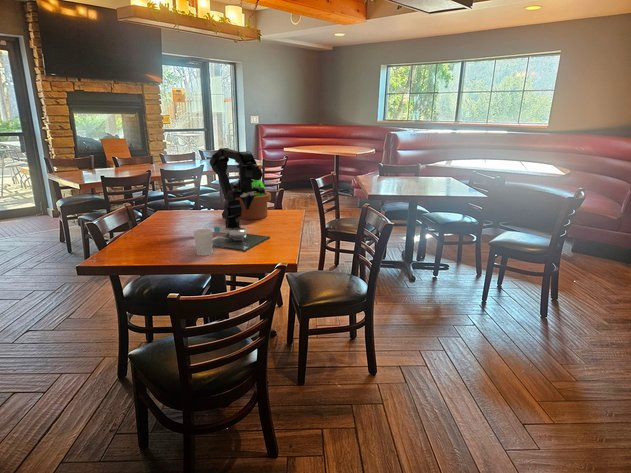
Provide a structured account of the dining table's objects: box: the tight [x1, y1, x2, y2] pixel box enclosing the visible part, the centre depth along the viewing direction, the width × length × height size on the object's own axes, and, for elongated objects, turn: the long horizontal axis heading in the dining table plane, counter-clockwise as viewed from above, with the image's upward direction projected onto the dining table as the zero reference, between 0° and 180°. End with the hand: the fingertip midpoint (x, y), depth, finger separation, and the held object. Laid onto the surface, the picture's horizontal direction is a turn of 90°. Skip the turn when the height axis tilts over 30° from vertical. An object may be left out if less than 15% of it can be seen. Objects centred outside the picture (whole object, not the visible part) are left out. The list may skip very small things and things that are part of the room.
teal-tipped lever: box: [213, 225, 248, 239], centre depth 196 cm, size 17×8×3 cm, turn 65°
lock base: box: [212, 233, 271, 252], centre depth 195 cm, size 24×22×2 cm
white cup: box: [193, 228, 214, 257], centre depth 178 cm, size 8×8×10 cm
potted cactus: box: [236, 178, 272, 221], centre depth 239 cm, size 22×22×25 cm
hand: (247, 209), depth 203 cm, fingers closed
